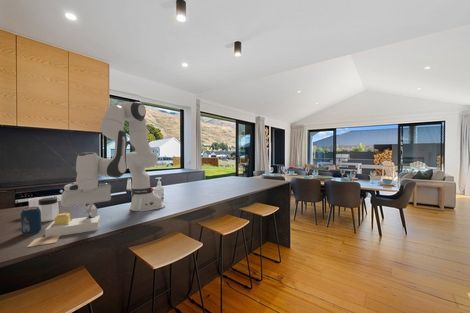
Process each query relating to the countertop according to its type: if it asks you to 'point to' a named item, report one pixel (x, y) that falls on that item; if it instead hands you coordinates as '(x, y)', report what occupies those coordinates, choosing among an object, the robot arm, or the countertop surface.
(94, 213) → the t key
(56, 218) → the snap cover
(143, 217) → the countertop surface
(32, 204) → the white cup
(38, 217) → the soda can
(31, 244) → the cork pad
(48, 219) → the jar
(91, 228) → the latch box
